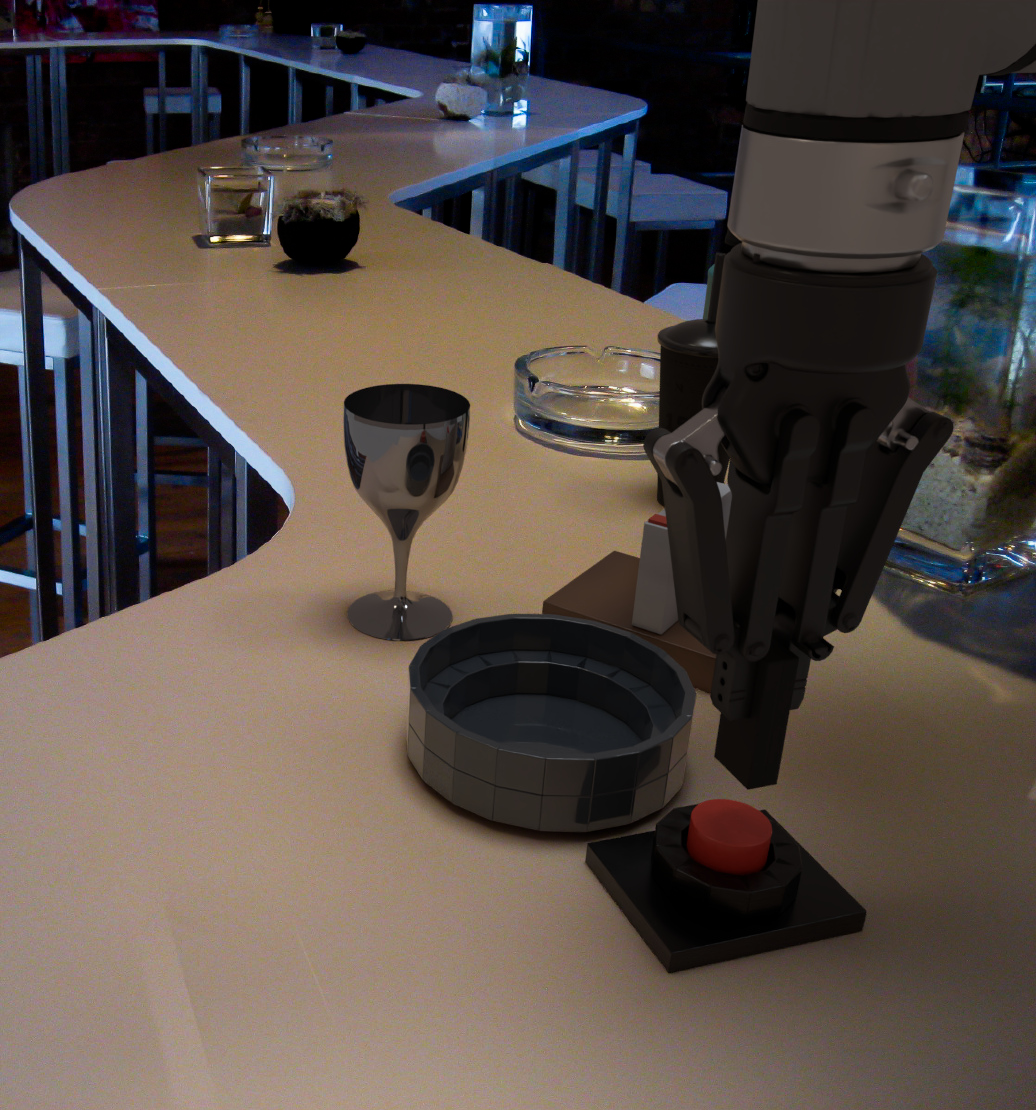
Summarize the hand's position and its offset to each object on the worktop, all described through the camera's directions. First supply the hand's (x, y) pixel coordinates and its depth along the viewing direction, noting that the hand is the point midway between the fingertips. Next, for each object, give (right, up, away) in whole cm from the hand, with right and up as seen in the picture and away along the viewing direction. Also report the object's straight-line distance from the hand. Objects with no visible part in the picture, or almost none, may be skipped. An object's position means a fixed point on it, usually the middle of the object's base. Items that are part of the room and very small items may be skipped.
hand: (744, 769), depth 59 cm
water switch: (0, -7, +3) cm, 7 cm away
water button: (0, -4, +2) cm, 5 cm away
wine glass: (-13, +6, +29) cm, 32 cm away
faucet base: (+4, +4, +26) cm, 26 cm away
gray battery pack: (+4, +7, +25) cm, 26 cm away
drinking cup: (+11, +14, +46) cm, 50 cm away
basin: (-7, -2, +14) cm, 15 cm away
